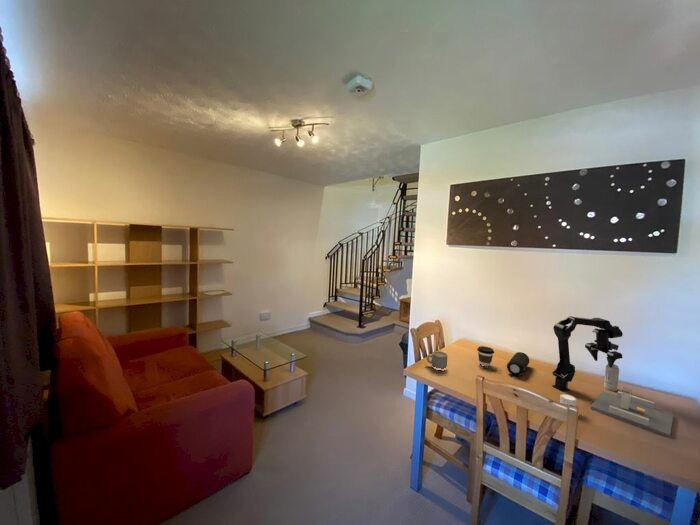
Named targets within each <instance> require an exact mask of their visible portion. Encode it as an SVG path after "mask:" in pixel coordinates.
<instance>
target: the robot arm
mask: <svg viewBox="0 0 700 525" xmlns="http://www.w3.org/2000/svg"><path fill="white" fill-rule="evenodd" d="M569 324H570V325H569ZM568 325H569V326H568ZM578 325H582V326H589V327H591V326H592V327H595V328H594V329H593V330H592V333H595V339H594V340H593V341H594V342H587V343H585V345H584V348H585V349H586V350H587V351H588V352H589V354H590V355H591V357H592V358H593V359H594V361H595V362H597V361H598V356H599V355H598V353H599V352H602V353H603V354H606V356H607V357H606V361H607V364H609V367H610V368H611V367H612V366H613V364H615V362H616V361H617V360H620V359H623V354H622V353H621V352H618V350H619V347H620V345H618V344H616V343H614V342H613V343H612V341H610V340H609V339H617V338H621V337H623V334H624V332H623V331H622V329H620V326H617V325H612V324H611V321H610V320H607V319H604V318H600V317H592V318H586V317H585V318H584V317H578V316H577V317H576V316H572V315H571V316H570V315H569V316H567V317H566V318H564V319H561V320H558V322H556V323H555V324H554V325H553V332H554V334H555V337H557V342H558V343H557V344H558V345H557V346H558V356H559V361H558V363H557V365H556V368H555V369H554V370H553V371H552V376H554V377H555V380H554V381H555V382H554V384H553V385H552V387H553V388H555V389H557V390H559V391H561V392H567V391H571V389H570V388H568V387H569V383H570V382H572V381H573V378H574V376H575V375H576V374H575V373H576V369H575V368H576V367H575V365H574V364H572V363H571V358H570V345H569V339H570V338H571V336H572V332H573V331H575V329H576V326H578Z"/></svg>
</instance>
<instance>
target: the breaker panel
mask: <svg viewBox="0 0 700 525" xmlns="http://www.w3.org/2000/svg"><path fill="white" fill-rule="evenodd" d="M621 396H622V391H617V394H615V393H614V394H613V393H612V392H611V393H610V392H608V391H604V390H601V391H600V392H599V394H598V396H597V397H596V398H595V399H594V400H593V402H592V404H591V405H590V409H591V411H592V410H593V411H596V412H599V413H601V414H603V415H606V416H609V417H611V418H614V419H617V420H620V421H623V422H626V423H628V424H631V425H633V426H636V427H639V428H642V429H644V430H647V431H649V432H652V433H654V434H657V435H661V436H663V437H666V438H669V439H670V438H671V432H672V425H673V420H674V413H672V412H669V411H667V410H664V409H660V408H657V407H655V402H654V401H652V400H649V399H645V398H642V397H638V396H635V395H633V394H631V399H630V407H629V409H628V410H627V409H624V408H621V407H620V405H621Z"/></svg>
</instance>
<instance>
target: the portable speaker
mask: <svg viewBox="0 0 700 525" xmlns="http://www.w3.org/2000/svg"><path fill="white" fill-rule="evenodd" d="M529 364H530V357H529V356H528V355H527V354H526V353H525V352H523V351H519V352H515V353H514V354H513V356H512V357H511V358H510V359H509V361H508V362H507V365H506V370H507V371H508V373H510V375H513V376H514V377H519V376H522V375H523V373H524V372H525V371H526V369H527V368H528V366H529Z"/></svg>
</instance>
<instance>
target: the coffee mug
mask: <svg viewBox="0 0 700 525" xmlns="http://www.w3.org/2000/svg"><path fill="white" fill-rule="evenodd" d="M430 359H431V360H430ZM426 360H427V363H429V364H430V365H431V364H432V365H431V367H432V366H433V367H436V368H441V369H444V368H446V367H447V368H448V354H447V353H446V352H444V351H440V350H439V351H438V350H434V351H432V352H431V353H429V354H428V355H427V356H426Z"/></svg>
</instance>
